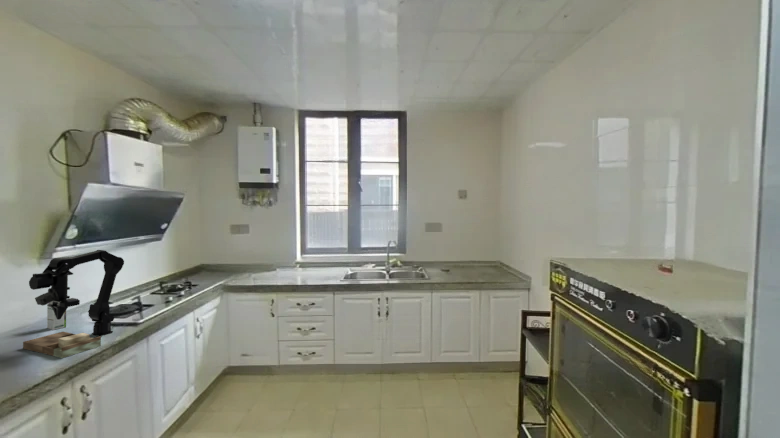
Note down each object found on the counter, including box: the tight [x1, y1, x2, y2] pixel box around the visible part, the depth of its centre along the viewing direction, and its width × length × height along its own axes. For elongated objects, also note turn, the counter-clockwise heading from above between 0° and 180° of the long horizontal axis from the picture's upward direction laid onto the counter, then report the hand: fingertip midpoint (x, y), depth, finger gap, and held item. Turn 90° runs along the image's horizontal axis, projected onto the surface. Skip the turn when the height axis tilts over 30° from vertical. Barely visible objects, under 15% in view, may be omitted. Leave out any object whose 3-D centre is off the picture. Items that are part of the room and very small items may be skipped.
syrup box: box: [46, 303, 67, 331], centre depth 202 cm, size 6×6×14 cm
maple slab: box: [59, 332, 90, 347], centre depth 174 cm, size 10×5×4 cm, turn 155°
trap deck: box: [22, 331, 102, 359], centre depth 177 cm, size 16×26×4 cm, turn 72°
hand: (58, 319), depth 178 cm, fingers closed
